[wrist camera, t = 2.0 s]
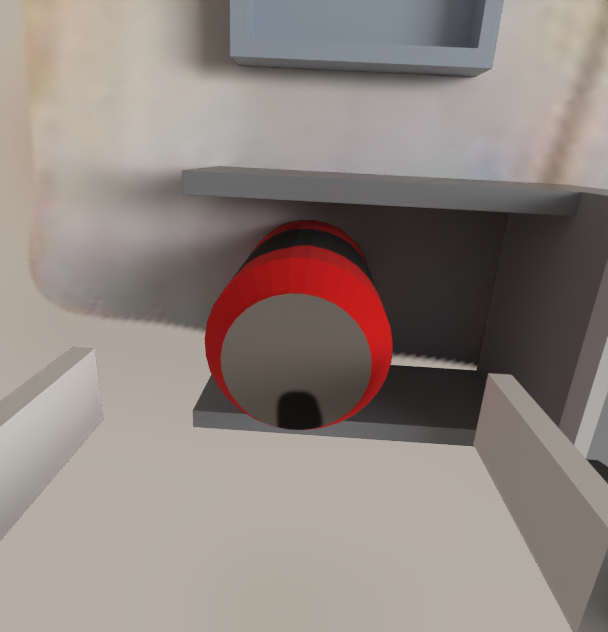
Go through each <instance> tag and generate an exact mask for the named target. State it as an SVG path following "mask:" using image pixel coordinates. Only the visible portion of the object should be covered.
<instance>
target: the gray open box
mask: <svg viewBox="0 0 608 632" xmlns="http://www.w3.org/2000/svg"><path fill="white" fill-rule="evenodd" d="M182 175H183V194H186V195H204V196H222V197H241V198H259V199H277V200H295V201H313V202H331V203H349V204H367V205H385V206H404V207H422V208H440V209H458V210H476V211H494V212H509V215H508V220H507V225H506V230H505V235H504V239H503V244H502V249H501V254H500V259H499V264H498V269H497V274H496V278H495V283H494V288H493V293H492V298H491V303H490V308H489V312H488V317H487V322H486V327H485V332H484V337H483V342H482V347H481V351H480V356H479V361H478V366H477V371H475V370H460V369H443V368H429V367H412V366H398V365H397V366H396V365H390V367H389V371H388V374H387V377H386V379H385V381H384V383H383V384H382V386H381V388H380V390H379V391H378V393H377V394H376V395H375V396H374V397H373V399H372V400H371V401H370V402H369V403H368V404H367V405H366V406H365V407H364V408H362V409H361V410H360V411H358V412H357V413H356V414H355V415H353V416H351V417H349V418H347V419H345V420H343V421H341V422H340V423H337V424H334V425H330V426H327V427H324V428H318V429H310V430H288V429H283V428H278V427H274V426H271V425H268V424H266V423H263V422H261V421H258V420H256V419H254V418H252V417H251V416H249V415H247V414H246V413H244V412H242V411H241V410H240V409H239V408H237V407H236V406H235V405H234V404H233V403H232V402H231V401H230V400H228V398H227V397H226V396H225V395H224V393H223V392H222V391H221V389H220V388H219V387H218V385H217V383H216V381H215V379H214V377H213V375H211V377H210V379H209V380H208V383H207V385H206V386H205V388H204V390H203V392H202V394H201V396H200V398H199V400H198V402H197V404H196V406H195V407H194V409H193V425H194V427H205V428H219V429H232V430H247V431H261V432H276V433H290V434H304V435H319V436H333V437H348V438H363V439H376V440H391V441H406V442H420V443H435V444H448V445H463V446H474V439H475V434H476V429H477V425H478V420H479V415H480V410H481V406H482V401H483V396H484V391H485V387H486V382H487V377H488V373H492V374H508V375H512V376H513V377H514V378H515V379H516V380H517V381H518V382H519V384H520V385H521V386H522V387H523V388H524V389H525V390H526V392H527V393H528V394H529V395H530V396H531V397H532V398H533V400H534V401H535V402H536V403H537V404H538V405H539V406H540V407H541V409H542V410H543V411H544V412H545V413H546V414H547V415H548V417H549V418H550V419H551V420H552V421H553V422H554V423H555V425H556V426H557V427H558V428H559V429H560V430H561V431H562V432H563V434H564V435H565V436H566V437H567V438H568V439H569V440H570V442H571V443H572V444H573V445H574V446H575V447H576V448H577V450H578V451H579V452H580V453H581V454H582V455H583V456H584V458H585V459H591V460H599V461H600V462H602V463H603V464H605V465H606V466H608V190H605V189H597V188H589V187H581V186H573V185H559V184H541V183H522V182H503V181H484V180H466V179H447V178H428V177H409V176H391V175H372V174H353V173H334V172H316V171H297V170H278V169H259V168H241V167H222V166H218V167H209V168H200V169H191V170H182Z"/></svg>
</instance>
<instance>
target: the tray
mask: <svg viewBox="0 0 608 632" xmlns="http://www.w3.org/2000/svg"><path fill="white" fill-rule="evenodd" d="M503 1H504V0H230V56H231V57H232V59H233V60H234V61H235V62H236V63H237V64H238V65H239V66H255V67H276V68H298V69H319V70H340V71H361V72H382V73H404V74H425V75H446V76H467V77H476V76H478V75H480V74H482V73H484V72H486V71H488V70H490V69H491V68H492V65H493V59H494V53H495V48H496V42H497V36H498V30H499V25H500V19H501V13H502V7H503Z"/></svg>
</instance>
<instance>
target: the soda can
mask: <svg viewBox="0 0 608 632" xmlns="http://www.w3.org/2000/svg"><path fill="white" fill-rule="evenodd" d="M205 349H206V357H207V360H208V365H209V368H210V372H211V373H212V375H213V377H214V379H215V381H216V383H217V385H218V387H219V388H220V389H221V391H222V392H223V393H224V395H225V396H226V397H227V398H228V400H230V401H231V402H232V403H233V404H234V405H235V406H236V407H237V408H239V409H240V410H241V411H242V412H244V413H246V414H247V415H249V416H251V417H252V418H254V419H256V420H258V421H261V422H263V423H266V424H268V425H271V426H274V427H278V428H283V429H288V430H310V429H318V428H324V427H327V426H330V425H334V424H337V423H340V422H341V421H343V420H345V419H347V418H349V417H351V416H353V415H355V414H356V413H357V412H358V411H360V410H361V409H362V408H364V407H365V406H366V405H367V404H368V403H369V402H370V401H371V400H372V399H373V397H374V396H375V395H376V394H377V393H378V391H379V390H380V388H381V386H382V384H383V383H384V381H385V379H386V377H387V374H388V371H389V367H390V364H391V359H392V349H393V342H392V334H391V327H390V324H389V322H388V319H387V316H386V313H385V310H384V308H383V305H382V302H381V300H380V297H379V294H378V292H377V289H376V286H375V284H374V281H373V278H372V276H371V273H370V271H369V268H368V265H367V263H366V260H365V257H364V255H363V253H362V251H361V250H360V248H359V246H358V245H357V244H356V243H355V241H354V240H353V239H352V238H351V237H350V236H349V235H348V234H346V233H345V232H343V231H342V230H341V229H339V228H337V227H335V226H333V225H330V224H328V223H325V222H320V221H316V220H300V221H295V222H290V223H287V224H285V225H282V226H280V227H278V228H276V229H275V230H273V231H272V232H270V233H269V234H268V235H267V236H266V237H265V238H264V239H263V240H262V241H260V243H259V244H258V245H257V247H256V248H255V249H254V251H253V252H252V253H251V255H250V256H249V257H248V259H247V260H246V261H245V263H244V264H243V265H242V267H241V268H240V269H239V271H238V272H237V273H236V275H235V276H234V277H233V279H232V280H231V281H230V283H229V284H228V285H227V287H226V288H225V289H224V291H223V292H222V294H221V295H220V297H219V298H218V300H217V301H216V303H215V304H214V306H213V308H212V311H211V314H210V316H209V319H208V321H207V327H206V334H205Z"/></svg>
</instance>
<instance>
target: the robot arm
mask: <svg viewBox="0 0 608 632" xmlns="http://www.w3.org/2000/svg"><path fill="white" fill-rule="evenodd" d="M102 420H103V414H102V405H101V396H100V388H99V380H98V371H97V363H96V354H95V349H92V348H75V347H72V348H71V349H69V350H68V351H67V352H65V353H64V354H63V355H61V356H60V357H59V358H57V359H56V360H55V361H53V362H52V363H51V364H49V365H48V366H47V367H46V368H44V369H43V370H42V371H40V372H39V373H37V374H36V375H35V376H33V377H32V378H31V379H29V380H28V381H27V382H25V383H24V384H23V385H21V386H20V387H19V388H17V389H16V390H15V391H13V392H12V393H11V394H9V395H8V396H7V397H5V398H4V399H2V400H1V401H0V541H1V540H2V538H3V537H4V536H5V535H6V534H7V533H8V531H9V530H10V529H11V528H12V526H13V525H14V524H15V523H16V522H17V521H18V520H19V518H20V517H21V516H22V515H23V513H24V512H25V511H26V510H27V509H28V508H29V507H30V505H31V504H32V503H33V502H34V501H35V499H36V498H37V497H38V496H39V495H40V494H41V492H42V491H43V490H44V489H45V488H46V486H47V485H48V484H49V483H50V482H51V480H52V479H53V478H54V477H55V476H56V475H57V473H58V472H59V471H60V470H61V469H62V467H63V466H64V465H65V464H66V463H67V462H68V461H69V459H70V458H71V457H72V456H73V455H74V453H75V452H76V451H77V450H78V448H79V447H80V446H81V445H82V444H83V442H84V441H85V440H86V439H87V438H88V437H89V436H90V434H91V433H92V432H93V431H94V430H95V429H96V427H97V426H98V425H99V424H100V422H102ZM474 446H475V448H476V450H477V452H478V453H479V455H480V457H481V459H482V461H483V463H484V465H485V467H486V469H487V470H488V472H489V474H490V476H491V478H492V480H493V482H494V484H495V486H496V487H497V489H498V491H499V493H500V495H501V497H502V499H503V501H504V503H505V504H506V506H507V508H508V510H509V512H510V514H511V516H512V518H513V520H514V521H515V523H516V525H517V527H518V529H519V531H520V533H521V535H522V536H523V538H524V540H525V542H526V544H527V546H528V548H529V550H530V552H531V553H532V555H533V557H534V559H535V561H536V563H537V565H538V567H539V569H540V571H541V572H542V574H543V576H544V578H545V580H546V581H547V584H548V586H549V587H550V589H551V591H552V593H553V595H554V597H555V599H556V600H557V603H558V604H559V606H560V608H561V610H562V612H563V614H564V616H565V617H566V620H567V621H568V623H569V625H570V627H571V629H572V631H573V632H608V466H606V465H605V464H603V463H602V462H600V461H599V460H591V459H585V458H584V456H583V455H582V454H581V453H580V452H579V451H578V450H577V448H576V447H575V446H574V445H573V444H572V443H571V442H570V440H569V439H568V438H567V437H566V436H565V435H564V434H563V432H562V431H561V430H560V429H559V428H558V427H557V426H556V425H555V423H554V422H553V421H552V420H551V419H550V418H549V417H548V415H547V414H546V413H545V412H544V411H543V410H542V409H541V407H540V406H539V405H538V404H537V403H536V402H535V401H534V400H533V398H532V397H531V396H530V395H529V394H528V393H527V392H526V390H525V389H524V388H523V387H522V386H521V385H520V384H519V382H518V381H517V380H516V379H515V378H514V377H513V376H512V375H508V374H492V373H488V377H487V382H486V387H485V391H484V396H483V401H482V406H481V410H480V415H479V420H478V425H477V429H476V434H475V439H474Z"/></svg>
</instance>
